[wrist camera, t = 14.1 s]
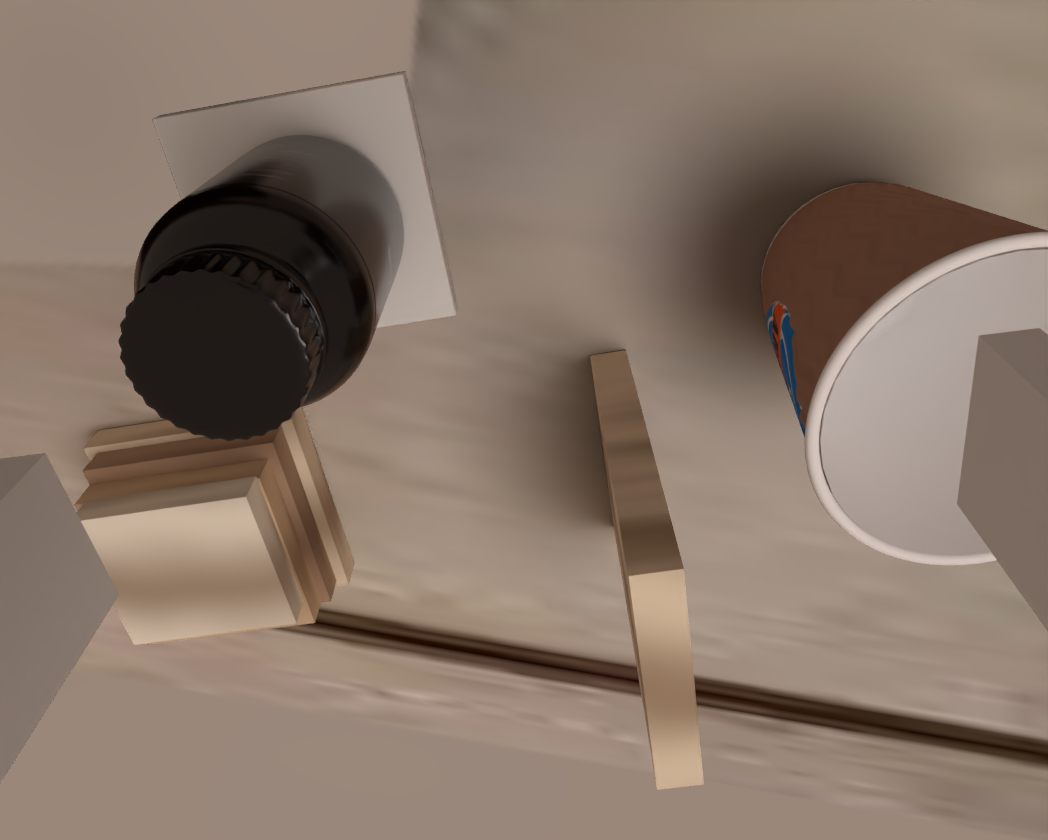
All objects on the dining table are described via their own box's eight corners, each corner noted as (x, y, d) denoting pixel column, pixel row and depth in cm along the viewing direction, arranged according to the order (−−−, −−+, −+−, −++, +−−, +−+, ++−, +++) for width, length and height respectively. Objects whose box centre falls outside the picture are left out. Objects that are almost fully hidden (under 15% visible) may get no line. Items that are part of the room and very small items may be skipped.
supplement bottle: (434, 279, 33) (394, 440, 22) (274, 331, 34) (164, 508, 23) (362, 100, 29) (275, 190, 19) (187, 164, 30) (13, 282, 20)
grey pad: (160, 115, 30) (152, 119, 30) (405, 70, 30) (402, 74, 29) (242, 341, 35) (236, 350, 34) (457, 307, 34) (456, 315, 33)
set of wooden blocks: (98, 430, 37) (-109, 673, 25) (625, 350, 35) (683, 568, 23) (174, 587, 41) (30, 860, 29) (645, 523, 39) (703, 784, 27)
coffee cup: (664, 261, 33) (732, 409, 23) (896, 71, 30) (1101, 142, 19) (808, 428, 37) (923, 621, 27) (1028, 276, 34) (1260, 428, 23)
